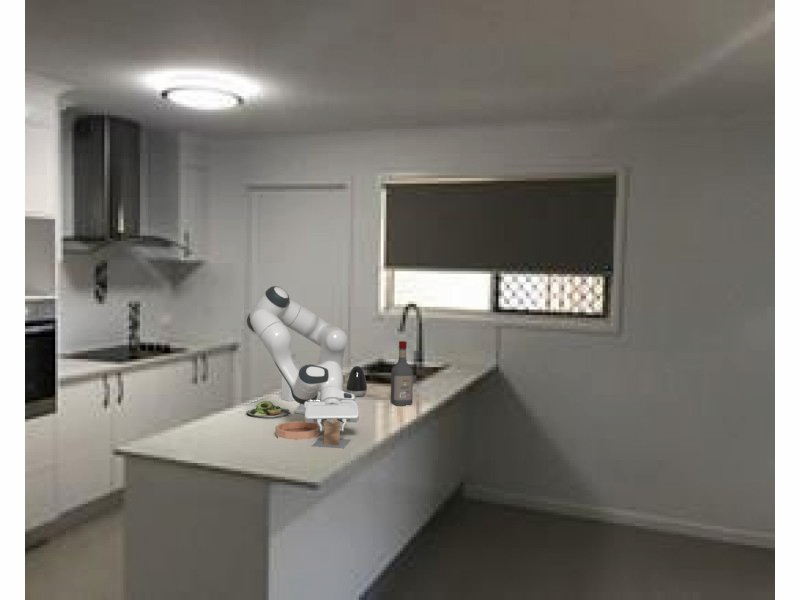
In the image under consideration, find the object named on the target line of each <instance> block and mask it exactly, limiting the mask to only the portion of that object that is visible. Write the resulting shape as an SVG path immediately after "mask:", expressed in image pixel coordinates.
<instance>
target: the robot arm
mask: <svg viewBox="0 0 800 600" xmlns="http://www.w3.org/2000/svg"><path fill="white" fill-rule="evenodd" d="M246 325H247V327H248V329H249V330H251V331H252V332H254V333H255V334H256V336H257V337H258V338H259V340H260V342H261V343H262V345H264V347H265V348H266V350H267V351H268V353H269V354H270V357H271V358H272V360H273V362H274V363H275V366H276V367H277V369H278V371H279V372H280V374H281V376H282V375H283V377H284V378H285V380H286V382H287V383H288V385H289V387H290V389H291V393H292V397H293V398H294V401H295V402H296V403H298V404H299V405H298V406H297V407H295V409H294V413H295V414H299V415H304V421H306V422H307V423H317V425H318V426H319V428H320V432H321V433H324V425H322V423H323V424H324V420H327V419H328V418H331V419H333V418H336V419H337V420H340V423H342V424H341V425H340V433H344V428H345V427H346V425H347V423H357V422H358V421H359V420H360V411H359V406H358V403H357V402H356V397H355V395H354V394H350V393H348V391H344V375H343V361H344V357H345V350H346V346H347V344H348V336H347V334H346V332H345V331H344V330H343V329H342V328H340V327H338V326H335V325H333V324H331V323H329V322H328V321H327V320H325V319H323V318H322V317H320V316H319V315H317V314H316V313H315V312H313V311H311V309H310V310H309V309H308V308H306V306H305V307H304V306H303V305H302V304H300V303H298V302H297V301H295V300H292V299H291V298H290V295H289V294H288V292H287V291H286V290H285V289H283V288H282V287H280V286H276V285H275V286H270V287H269V288H268V289H266V290H265V293H263V294H262V296H261V297H259V299H258V301H257V302H256V304H255V305H254V307H253V308H252V309H251V312H250V313H248V316H247V318H246ZM288 328H289V329H290V330H292V331H294V332H296V333H297V334H298V335H301V336H302V337H304V338H305V339H308V340H309V341H311V343H314V344H316V345H317V346H319V347H320V351H319V357H318V361H317V364H305V365H302V367H300V368H299V371H298V369H297V368H296V366H295V365H294V363H293V360H292V356H291V354H292V335H291V334H290V331H289V329H288Z"/></svg>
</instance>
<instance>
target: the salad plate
mask: <svg viewBox="0 0 800 600" xmlns="http://www.w3.org/2000/svg"><path fill="white" fill-rule="evenodd" d="M255 407H256V408H252V409H249V410H247V411H246V412H245V413H246V415H247V416H248V417H252V418H258V419H269V420H270V419H273V420H274V419H280V418H282V417H285V416H287V415H292V412H290V409H288V408H282V407H281V406H278V405H274V404H273V402H271V401H268V400H263V401H260V402H258V403H257V404H256V405H255Z"/></svg>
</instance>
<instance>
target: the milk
mask: <svg viewBox="0 0 800 600" xmlns="http://www.w3.org/2000/svg"><path fill="white" fill-rule="evenodd" d="M291 356H292V360H293V363H294V365H295V366H296V368H297V369H298V371H299V370H300V360H299V359H298V358H297V357H296V354H295V353H291ZM282 400H283V401H286V402H293V401H295V400H294V398H293V397H292V393H291V389H290V387H289V385H288V383H287V382H286V380H285V378H284V377H283V375H282V374H281V401H282Z"/></svg>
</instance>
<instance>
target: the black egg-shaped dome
mask: <svg viewBox="0 0 800 600" xmlns="http://www.w3.org/2000/svg"><path fill="white" fill-rule="evenodd" d="M367 390H368V384H367V380H366V375H365V372H364V370H363V368H362V367H361V366H358V365H356V366H353V367H352V368H351V369H350V372H349V373H348V378H347V383H346V392H347V393H350V394H354V395H355V398H361V397H363V396H365V394H366V392H367Z"/></svg>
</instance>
